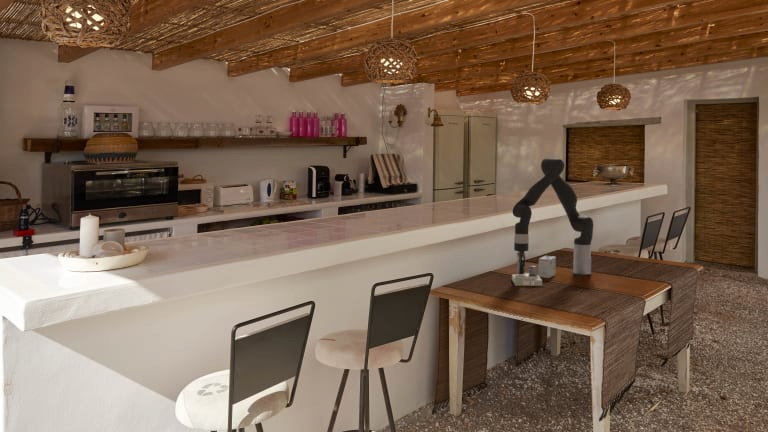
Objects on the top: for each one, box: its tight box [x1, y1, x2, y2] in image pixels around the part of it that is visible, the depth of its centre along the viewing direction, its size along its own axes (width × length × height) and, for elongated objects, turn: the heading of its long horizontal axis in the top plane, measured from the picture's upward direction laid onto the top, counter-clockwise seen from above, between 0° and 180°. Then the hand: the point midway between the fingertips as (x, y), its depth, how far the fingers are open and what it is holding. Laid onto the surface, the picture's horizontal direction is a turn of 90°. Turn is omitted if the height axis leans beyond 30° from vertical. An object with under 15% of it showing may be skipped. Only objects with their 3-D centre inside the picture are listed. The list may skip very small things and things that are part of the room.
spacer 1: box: [516, 263, 526, 274], centre depth 319 cm, size 4×4×5 cm
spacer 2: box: [528, 265, 538, 276], centre depth 318 cm, size 4×4×5 cm
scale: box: [511, 272, 543, 287], centre depth 319 cm, size 14×14×4 cm
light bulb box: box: [538, 255, 557, 279], centre depth 335 cm, size 11×7×11 cm, turn 146°
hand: (520, 272), depth 319 cm, fingers closed on spacer 1, 4 cm apart
